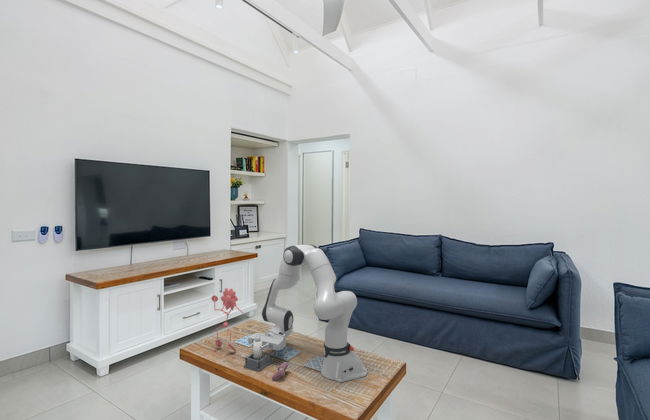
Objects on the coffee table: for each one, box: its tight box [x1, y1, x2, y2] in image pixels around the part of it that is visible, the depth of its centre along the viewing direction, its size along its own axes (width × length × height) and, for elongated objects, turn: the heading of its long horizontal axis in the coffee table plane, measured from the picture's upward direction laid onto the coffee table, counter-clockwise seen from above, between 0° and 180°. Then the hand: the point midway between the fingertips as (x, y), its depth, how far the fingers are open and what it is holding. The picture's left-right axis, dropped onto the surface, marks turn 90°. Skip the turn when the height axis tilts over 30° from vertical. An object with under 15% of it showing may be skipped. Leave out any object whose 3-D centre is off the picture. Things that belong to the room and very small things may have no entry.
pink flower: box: [211, 287, 245, 359], centre depth 183 cm, size 15×26×35 cm, turn 59°
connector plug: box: [253, 336, 263, 361], centre depth 165 cm, size 4×4×12 cm
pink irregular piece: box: [271, 361, 289, 381], centre depth 155 cm, size 10×5×7 cm, turn 170°
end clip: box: [243, 353, 275, 373], centre depth 166 cm, size 12×10×5 cm
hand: (256, 347), depth 164 cm, fingers closed on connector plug, 4 cm apart
